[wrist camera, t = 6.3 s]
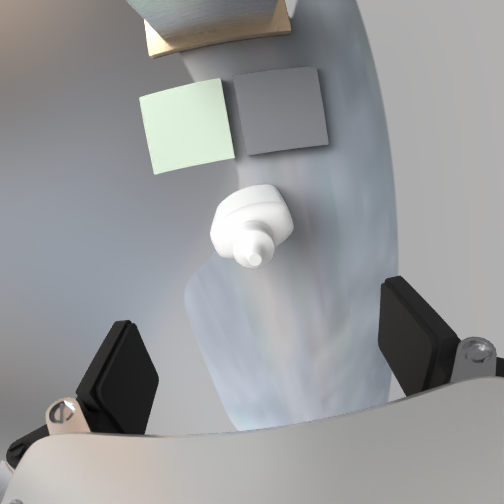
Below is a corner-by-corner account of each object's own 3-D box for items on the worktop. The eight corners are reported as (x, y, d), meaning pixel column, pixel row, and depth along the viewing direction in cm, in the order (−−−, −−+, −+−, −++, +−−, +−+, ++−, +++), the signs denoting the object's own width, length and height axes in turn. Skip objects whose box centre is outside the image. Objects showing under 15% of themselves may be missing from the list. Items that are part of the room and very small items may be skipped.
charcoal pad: (232, 77, 23) (232, 75, 22) (313, 68, 23) (315, 66, 22) (246, 154, 25) (246, 155, 24) (325, 144, 25) (328, 144, 24)
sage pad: (142, 98, 23) (139, 97, 22) (220, 79, 23) (220, 77, 22) (157, 173, 26) (154, 174, 25) (235, 156, 25) (234, 157, 25)
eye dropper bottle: (220, 177, 26) (205, 212, 15) (284, 186, 27) (315, 227, 15) (215, 224, 28) (198, 290, 17) (276, 232, 28) (298, 301, 17)
